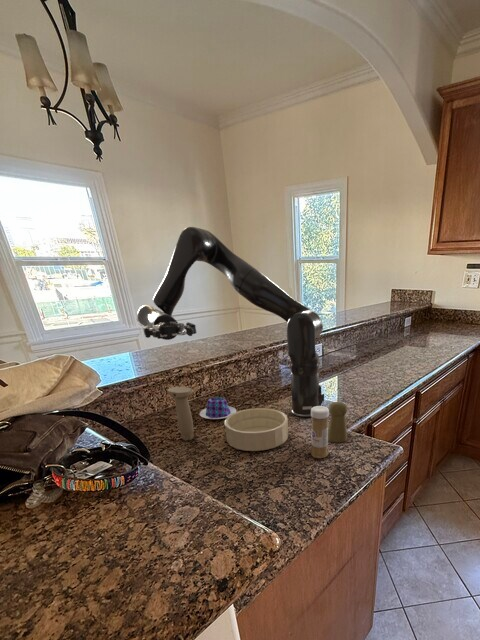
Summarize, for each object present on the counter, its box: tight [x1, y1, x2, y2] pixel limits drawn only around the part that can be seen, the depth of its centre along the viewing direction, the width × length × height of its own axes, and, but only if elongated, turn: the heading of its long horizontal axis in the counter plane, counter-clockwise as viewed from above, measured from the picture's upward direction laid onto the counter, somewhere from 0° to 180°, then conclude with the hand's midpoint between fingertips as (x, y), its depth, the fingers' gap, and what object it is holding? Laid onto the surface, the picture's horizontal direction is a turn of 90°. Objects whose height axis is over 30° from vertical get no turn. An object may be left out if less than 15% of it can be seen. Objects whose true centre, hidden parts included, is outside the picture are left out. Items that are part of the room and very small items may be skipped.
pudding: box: [199, 396, 237, 420], centre depth 118 cm, size 12×12×5 cm
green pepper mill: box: [328, 401, 348, 444], centre depth 102 cm, size 6×6×11 cm
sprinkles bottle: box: [310, 405, 330, 459], centre depth 92 cm, size 5×5×14 cm
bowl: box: [224, 407, 289, 452], centre depth 102 cm, size 18×18×6 cm
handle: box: [167, 386, 195, 442], centre depth 99 cm, size 5×6×15 cm
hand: (175, 333), depth 100 cm, fingers open, 8 cm apart
